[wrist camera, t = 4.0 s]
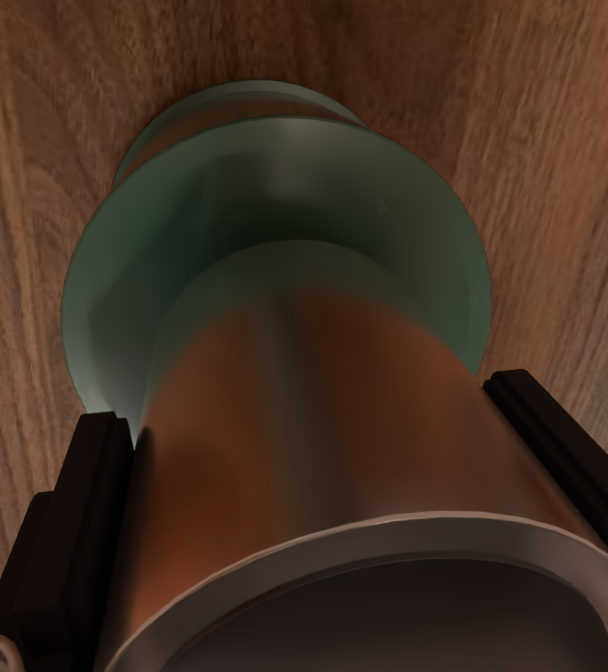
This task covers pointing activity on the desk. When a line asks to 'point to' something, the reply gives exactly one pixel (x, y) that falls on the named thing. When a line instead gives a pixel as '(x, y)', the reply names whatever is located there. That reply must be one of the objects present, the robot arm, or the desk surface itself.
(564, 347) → the desk surface
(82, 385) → the pail
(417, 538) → the silver cup
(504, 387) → the robot arm
